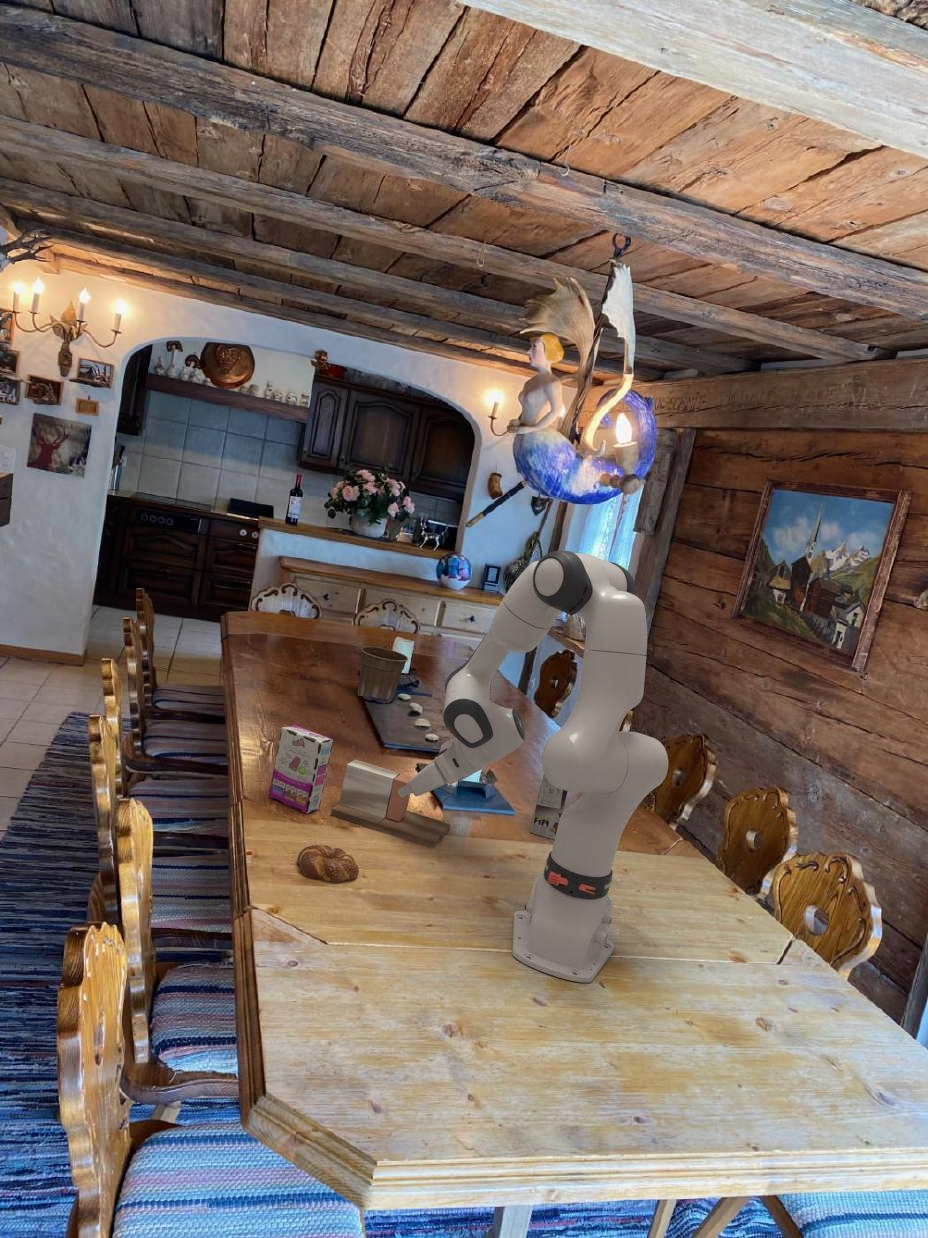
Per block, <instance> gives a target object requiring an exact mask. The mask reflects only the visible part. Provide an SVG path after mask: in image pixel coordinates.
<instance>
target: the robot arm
mask: <svg viewBox="0 0 928 1238" xmlns="http://www.w3.org/2000/svg"><path fill="white" fill-rule="evenodd" d="M561 612H563V613H564V614H567V615H569V616H574V615H576V614H578V615H579V617H580V618H581V619H582V620H583V622H584V625H585V638H584V647H583V660H582V668H581V677H580V683H579V684H580V685H579V691H578V695H577V698H576V702H575V703H574V705H573V708H572V711H571V713H570V714H569V716H568V718H567V719H566V721H565V723H564V724H563V725H562V726H561V727H560V729H558V730H557V732H555V733H554V734H552V735H551V736H550V737H549V738H548V740H547V741H546V742H545V744H544V746H543V748H542V749H543V750H542V753H541V768H542V771H543V776H544V775H545V777H546V779H547V780H548V782H549V783H550V784H551V785H552V786H554V787H556V788H559V789H562V790H566V791H568V792H570V793H576V794H582V795H581V796H580V797H579V798H578V799H577V800H576V801H575V802H574V803H572V804H571V805H569V806H568V807H567V808H566V809H565V810H563V812H562V815H561V817H560V820H559V824H558V828H557V832H556V836H555V839H554V840H553V845H552V849H551V851H549V853H548V856H547V858H546V860H545V865H544V869H543V870H544V871H543V874H541V875H539V876H537V877H535V878H534V882H533V885H532V889H531V893H530V896H529V900H528V903H526V904H525V906H524V910H516V911H515V912H514V915H513V916H512V917H513V921H512V944H511V945H512V948H511V951H512V952H511V953H512V954H511V955H512V956H513V957H514V958H515V959H517V960H518V961H519V962H521V963H522V964H525V965H526V966H529V967H531V968H532V969H535V970H537V971H540V972H542V973H545V974H548V975H550V976H554V977H556V978H560V979H564V980H566V981H567V980H568V981H571V982H577V983H591V982H592V981H593V980H594V979H595V977H597V975H598V974H599V972H600V970H601V969H602V968H603V967H604V965H605V964H606V962H607V961H608V960H609V958H610V957H611V955H612V954H614V953H613V952H614V950H615V943H613V941H611V940H610V939H608V937H609V932H608V928H609V925H610V924H611V922H612V919H613V917H611V916H612V911H613V907H614V903H613V900H611V898H610V896H609V890H610V887H611V885H612V881H613V873H614V872H613V869H612V868H613V866H614V862H615V861H614V860H615V857H616V853H617V850H618V848H619V847H618V846H619V844H620V840H621V837H622V834H623V832H624V830H625V827H626V825H627V824H628V823H629V820H630V818H631V817H632V815H634V812H635V811H636V809H637V808H638V807H639V805H640V804H641V802H642V801H643V800H644V799H645V798H646V797H647V795H649V794H650V793H651V792H652V791H653V790H654V789H656V788H657V787H659V786H660V785H661V784H662V783H663V782H664V781H665V779H666V777H667V774H668V770H669V757H668V752H667V750H666V748H665V746H664V745H663V744H662V743H661V741H659V740H658V739H656V738H655V737H652V736H649V735H647V734H644V733H640V732H636V731H626V730H625V731H624V730H623V731H620V730H621V726H622V723H623V721H624V719H625V717H626V715H627V714H628V713H629V712H630V711H631V710H632V709H634V708H635V707H637V706H638V705H639V704H640V703H641V701H642V699H643V697H644V690H645V680H646V679H645V678H646V667H647V664H646V663H647V655H648V654H647V652H648V651H647V650H648V625H647V615H646V608H645V604H644V602H643V601H642V599H641V598H639V596H637V595H636V584H635V580H634V578H633V576H632V574H631V572H629V571H628V569H626V568H625V567H623V566H622V565H620V564H618V563H616V562H613V561H608V560H605V559H602V558H600V557H597V556H595V555H593V554H587V553H581V552H573V551H571V550H556V551H551V552H548V553H546V554H545V555H543V556H542V557H541V558H540V559H539V560H536V561H533V562H531V563H530V564H529V565H527V567H526V568H525V569H524V570H523V571H522V572H521V573H520V574H519V576H518V577H517V578H516V580H515V581H514V582H513V583H512V585H511V586H510V588H509V589H508V591H507V592H506V594H505V595H504V597H503V598H502V601H501V602H500V603H499V605H498V607H497V610H496V612H495V613H494V616H493V618H492V619H491V620H492V621H491V624H490V626H489V628H488V631H487V633H486V634H485V636H484V637H483V638H482V639H481V641H480V642H479V644H478V645H477V647H476V649H475V650H474V652H473V653H472V655H471V656H470V657H469V658H468V660H467V661H466V662H464V663H463V664H462V665H460V666H458V667H457V668H456V669H454V670H453V671H452V672H451V673H450V674H449V675H448V676H447V679H446V680H445V683H444V684H445V685H444V702H443V703H444V704H443V713H442V719H443V724H444V727H445V728H446V730H448V731H449V732H450V734H452V736H453V738H451V739H449V740H447V741H445V742H444V743H442V744H441V746H440V750H439V752H438V754H437V755H436V756H435V757H434V759H433V760H432V761H431V762H430V763H428V764H427V765H426V766H425V767H423V769H421V770H420V771H419V772H417V773H416V774H415V775H414V776H412V777H413V778H412V779H410V780H409V781H408V784H407V785H406V786H404V787H402V788H400V789H399V790H398V793H399V795H400V797H404V796H406V795H408V794H410V795H411V794H413V796H414V797H418V796H422V795H424V794H427V793H429V792H432V791H434V790H436V789H438V788H441V787H442V786H444V785H446V784H448V785H450V786H451V785H452V784H455V783H456V782H459V781H463V780H465V779H467V778H469V777H470V776H472V775H474V774H476V773H478V772H479V771H482V769H484V768H485V767H486V766H487V765H488V764H491V763H495V762H498V761H500V760H501V759H503V758H505V757H507V756H508V755H509V754H511V753H513V752H514V751H516V750H517V749H518V748H519V747H520V746H522V744H523V743H524V741H525V738H526V737H525V736H526V735H525V733H526V732H525V726H524V723H523V720H522V718H521V716H520V714H519V713H518V711H516V709H514V708H507V707H504V706H501V705H498V704H496V703H494V702H493V701H491V700H490V699H491V698H490V696H491V689H492V679H493V677H494V675H496V672H497V671H498V670H499V668H500V667H501V666H502V664H503V662H504V661H505V660H506V658H507V657H508V655H509V654H510V653H511V652H512V653H517V654H518V653H519V654H525V653H529V652H532V651H533V650H534V649H535V648H536V647H537V646H539V644H540V643H541V642H542V641H543V640H544V639H545V637H546V636H547V635H548V633H549V631H551V628H552V627H553V625H554V623H555V622H556V620H557V618H558V617H559V615H560V614H561Z"/></svg>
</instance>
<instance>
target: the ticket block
mask: <svg viewBox="0 0 928 1238" xmlns="http://www.w3.org/2000/svg"><path fill="white" fill-rule="evenodd" d="M400 774H401V773H400V772H397V771H394V770H391V769H387V768H385V767H382V766H381V767H380V766H377V765H375V764H372V763H368V762H365V761H362V760H361V761H360V760H358V759H353V760H352V761H350V762H349V763H347V764H346V769H345V773H344V779H343V783H342V788H341V792H340V798H339V802H338V804H337V805H336V806H335V805H334V807H333V808H332V809H331V813H330V816H332V817H335V818H338V819H341V820H343V821H347V822H351V823H353V824H357V825H359V826H362V827H365V828H369V829H371V830H374V831H377V832H381V833H383V834H384V833H385V834H387V833H388V834H387V835H390V836H393V837H396V838H400V839H402V840H405V841H409V842H411V843H415V844H417V845H420V846H423V847H427V848H430V849H433V850H434V849H435V848H436V847H437V846H438V845H439V843H440V842H441V841H442V839H443V838H444V837H445V836H446V835H447V834H448V833H449V832H450V830H451V823H448V822H444V821H442V820H439V819H436V818H432V817H429V816H425V815H423V814H419V813H416V812H414V811H410V810H407V811H406V815H405V816H404V817H403V818H402V819H401V820H400V821H399V822H398V821H395V820H392V819H389V818H386V816H387V812H388V807H389V802H390V798H391V793H392V788H393V784H394V779H395V778H396V777H398V776H399V775H400Z"/></svg>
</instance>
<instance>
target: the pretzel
mask: <svg viewBox="0 0 928 1238" xmlns="http://www.w3.org/2000/svg"><path fill="white" fill-rule="evenodd" d="M296 860H297V864H298V866H299V867H300V870H301V872H302V874H304V876H306V877H308V878H311V879H316V880H322V879H323V880H324V881H327V882H330V881H331V882H334V883H342V882H345V881H346V880H348V881H351V880H352V881H353V880H355V879H357V877H358V876H359V873H360V869H359V866H358V864H357V863H356V861H355V858H354V857H353V856H352V855H350V854H347V853H346V851H344V850H343V849H342V848H339V847H334V848H333V847H332V846H329V845H325V844H323V845H322V844H319V845H318V844H316V845H313V844H312V845H308V846H306V847H304V848H303V849H301V851H300V852H299V853H298V855H297V858H296Z"/></svg>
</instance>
